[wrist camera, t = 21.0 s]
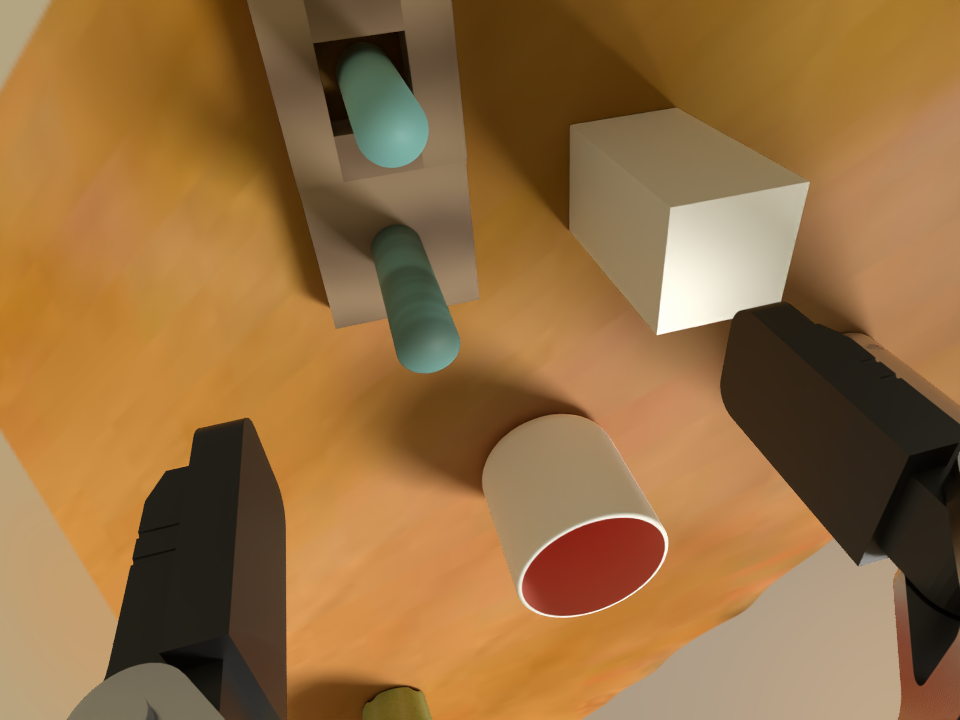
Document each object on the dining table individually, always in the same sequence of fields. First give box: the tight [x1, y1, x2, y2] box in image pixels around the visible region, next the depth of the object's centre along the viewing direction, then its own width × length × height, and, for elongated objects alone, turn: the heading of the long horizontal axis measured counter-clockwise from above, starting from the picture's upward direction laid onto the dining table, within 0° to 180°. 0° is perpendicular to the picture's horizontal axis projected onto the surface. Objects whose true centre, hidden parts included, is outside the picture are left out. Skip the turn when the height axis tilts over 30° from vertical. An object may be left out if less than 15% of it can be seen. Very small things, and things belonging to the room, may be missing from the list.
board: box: [299, 161, 479, 373], centre depth 30 cm, size 8×8×11 cm
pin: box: [336, 42, 429, 168], centre depth 26 cm, size 3×3×9 cm
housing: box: [569, 108, 810, 335], centre depth 31 cm, size 6×6×11 cm
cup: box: [482, 414, 668, 617], centre depth 44 cm, size 10×10×10 cm
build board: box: [247, 0, 467, 190], centre depth 28 cm, size 8×8×2 cm
